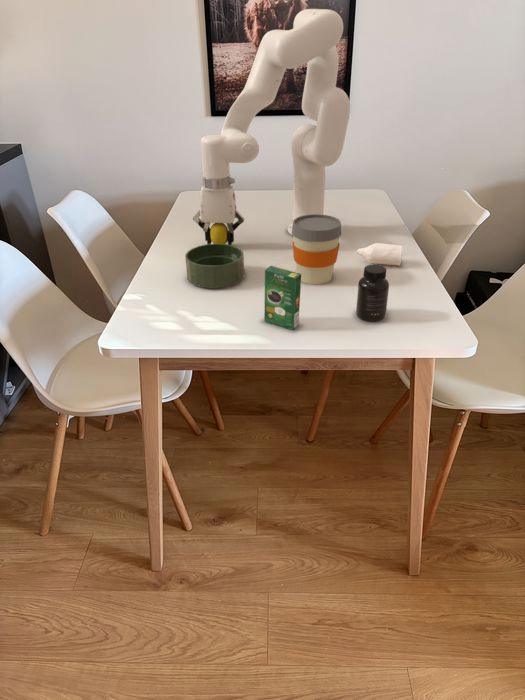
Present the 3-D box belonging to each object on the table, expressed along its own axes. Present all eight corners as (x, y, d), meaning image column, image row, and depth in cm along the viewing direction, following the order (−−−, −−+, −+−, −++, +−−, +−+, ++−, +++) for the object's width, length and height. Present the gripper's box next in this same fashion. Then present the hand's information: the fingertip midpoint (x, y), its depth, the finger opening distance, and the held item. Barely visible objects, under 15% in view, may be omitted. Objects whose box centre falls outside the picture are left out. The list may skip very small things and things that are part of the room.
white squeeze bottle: (356, 257, 159) (358, 238, 156) (400, 260, 157) (402, 241, 154) (355, 265, 154) (356, 246, 151) (399, 269, 152) (402, 249, 149)
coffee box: (300, 326, 126) (302, 272, 119) (294, 331, 124) (295, 277, 117) (270, 316, 130) (270, 264, 123) (263, 322, 128) (263, 269, 121)
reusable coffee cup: (306, 291, 141) (308, 234, 133) (282, 273, 150) (282, 218, 142) (347, 281, 146) (352, 225, 138) (321, 264, 155) (324, 211, 147)
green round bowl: (248, 267, 154) (247, 244, 150) (239, 291, 141) (238, 267, 138) (194, 264, 156) (193, 242, 152) (181, 288, 143) (178, 264, 140)
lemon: (226, 251, 164) (225, 224, 159) (208, 250, 165) (206, 223, 160) (231, 244, 168) (230, 218, 164) (213, 243, 169) (212, 217, 165)
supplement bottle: (352, 309, 132) (356, 262, 126) (381, 308, 133) (386, 261, 126) (359, 324, 126) (363, 275, 120) (389, 322, 127) (395, 274, 120)
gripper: (248, 179, 158) (250, 240, 168) (189, 177, 160) (194, 237, 170) (244, 186, 152) (246, 249, 162) (183, 185, 154) (188, 247, 164)
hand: (219, 243), depth 166 cm, fingers closed on lemon, 5 cm apart
